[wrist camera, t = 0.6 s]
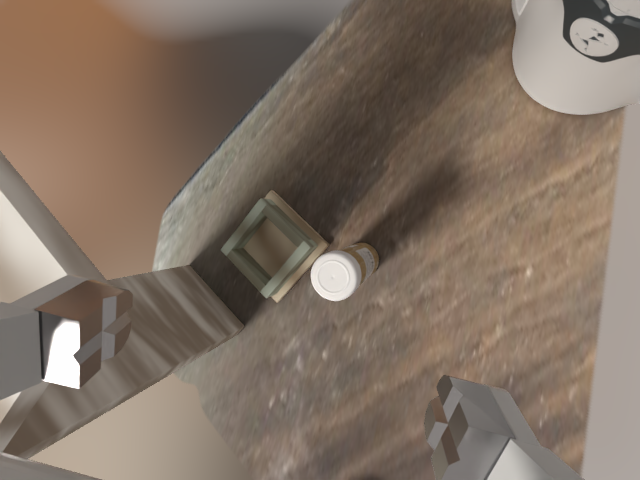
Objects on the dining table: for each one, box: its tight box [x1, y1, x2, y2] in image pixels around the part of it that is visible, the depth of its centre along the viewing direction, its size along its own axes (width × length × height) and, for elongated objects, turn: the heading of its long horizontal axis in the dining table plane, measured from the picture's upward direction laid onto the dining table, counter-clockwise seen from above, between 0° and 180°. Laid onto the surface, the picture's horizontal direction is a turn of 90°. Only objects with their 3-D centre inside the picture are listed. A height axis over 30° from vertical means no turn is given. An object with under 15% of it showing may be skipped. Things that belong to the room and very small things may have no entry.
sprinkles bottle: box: [311, 243, 379, 301], centre depth 37 cm, size 5×5×13 cm
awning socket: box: [0, 151, 330, 459], centre depth 33 cm, size 20×14×32 cm
